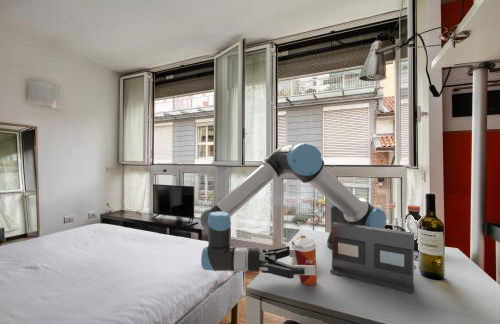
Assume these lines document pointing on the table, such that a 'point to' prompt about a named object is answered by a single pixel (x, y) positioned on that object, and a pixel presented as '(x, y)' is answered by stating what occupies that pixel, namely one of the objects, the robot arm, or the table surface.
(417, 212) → the bottle
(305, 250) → the paper cup
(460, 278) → the table surface
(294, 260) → the teacup with lid
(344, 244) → the panel
